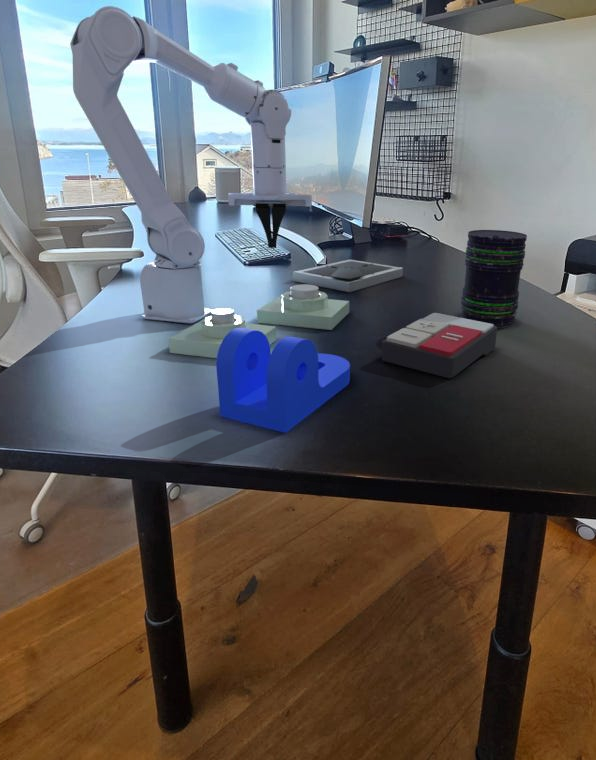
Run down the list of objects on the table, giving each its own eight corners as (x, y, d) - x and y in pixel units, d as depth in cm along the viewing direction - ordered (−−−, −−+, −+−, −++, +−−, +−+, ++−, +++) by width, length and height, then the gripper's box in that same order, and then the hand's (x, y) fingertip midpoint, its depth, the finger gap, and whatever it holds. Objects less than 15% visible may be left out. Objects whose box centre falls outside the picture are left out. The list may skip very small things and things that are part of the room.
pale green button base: (169, 353, 77) (166, 325, 76) (205, 332, 86) (202, 307, 84) (248, 362, 75) (246, 334, 73) (276, 340, 84) (275, 314, 82)
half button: (207, 324, 78) (206, 313, 77) (218, 318, 81) (217, 307, 80) (228, 327, 77) (227, 315, 76) (238, 321, 80) (237, 309, 79)
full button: (286, 299, 92) (286, 289, 92) (296, 293, 97) (296, 283, 96) (313, 302, 91) (313, 291, 91) (322, 295, 96) (322, 285, 95)
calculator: (380, 335, 75) (433, 308, 86) (380, 364, 77) (431, 334, 88) (452, 353, 69) (498, 321, 80) (450, 383, 71) (496, 348, 82)
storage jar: (462, 310, 103) (470, 228, 97) (516, 315, 100) (527, 232, 94) (456, 324, 94) (464, 235, 88) (514, 330, 91) (527, 239, 86)
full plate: (257, 322, 92) (256, 299, 90) (281, 306, 102) (281, 285, 100) (331, 330, 89) (331, 306, 87) (349, 312, 99) (349, 291, 97)
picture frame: (349, 292, 113) (402, 276, 129) (349, 278, 112) (403, 264, 128) (293, 281, 121) (349, 267, 137) (292, 268, 120) (349, 256, 136)
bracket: (285, 433, 56) (282, 350, 53) (220, 416, 59) (213, 337, 56) (360, 375, 71) (361, 308, 68) (305, 364, 74) (304, 299, 71)
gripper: (224, 167, 90) (230, 250, 96) (312, 169, 92) (313, 250, 98) (228, 166, 97) (233, 244, 102) (310, 168, 99) (311, 244, 104)
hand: (272, 246), depth 100 cm, fingers closed
